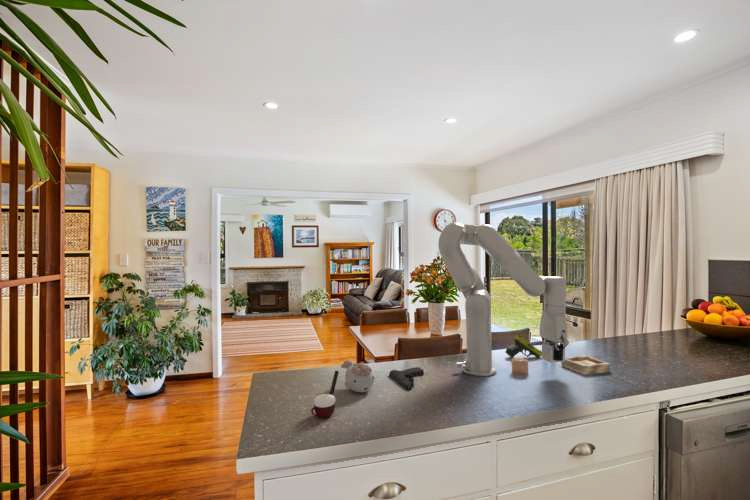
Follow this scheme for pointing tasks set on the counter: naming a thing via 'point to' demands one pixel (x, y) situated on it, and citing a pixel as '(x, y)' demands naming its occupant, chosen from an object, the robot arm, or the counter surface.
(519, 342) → the toy gun
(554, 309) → the robot arm
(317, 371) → the counter surface
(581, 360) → the wooden tray
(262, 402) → the counter surface
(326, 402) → the cocoa
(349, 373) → the toy
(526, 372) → the tan square block
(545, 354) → the housing
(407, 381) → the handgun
